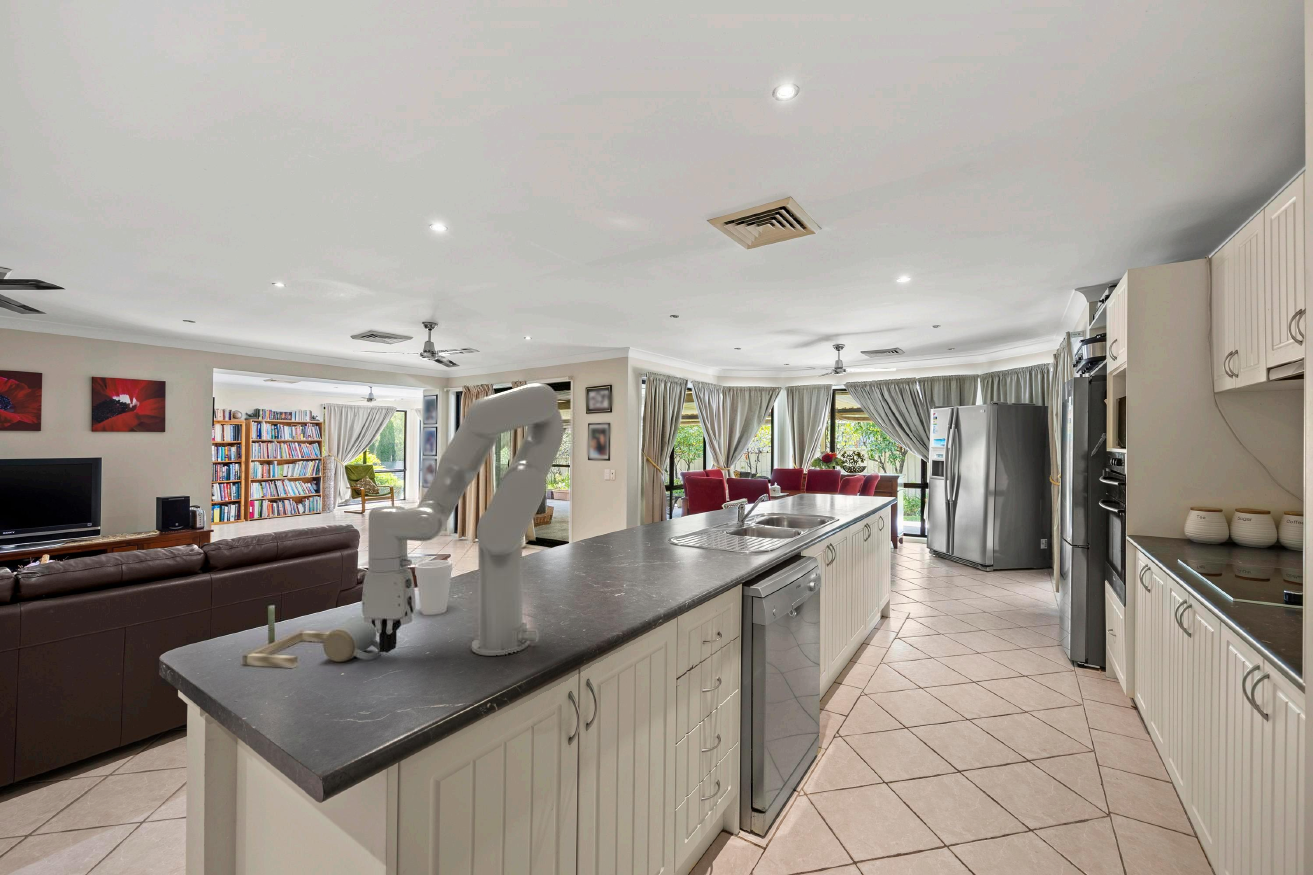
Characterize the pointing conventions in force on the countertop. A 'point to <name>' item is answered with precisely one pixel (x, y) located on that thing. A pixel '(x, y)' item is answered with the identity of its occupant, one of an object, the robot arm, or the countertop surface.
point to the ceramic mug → (351, 640)
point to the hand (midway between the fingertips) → (387, 649)
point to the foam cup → (433, 585)
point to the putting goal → (279, 646)
